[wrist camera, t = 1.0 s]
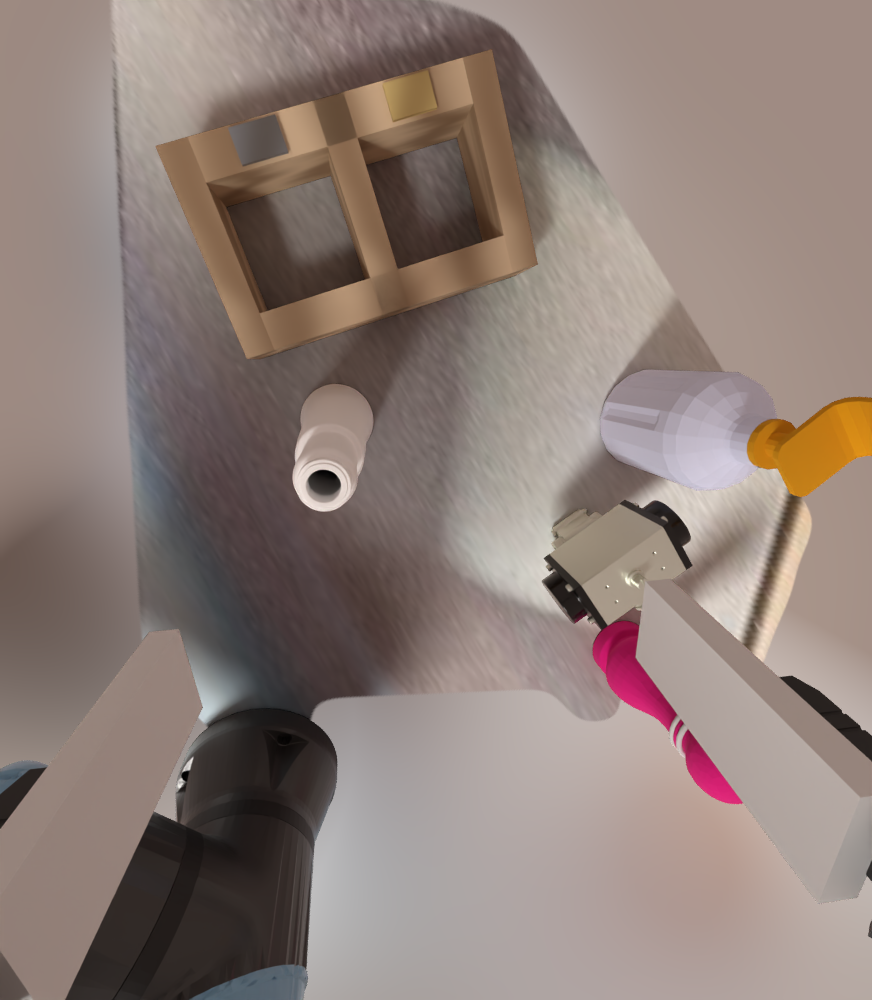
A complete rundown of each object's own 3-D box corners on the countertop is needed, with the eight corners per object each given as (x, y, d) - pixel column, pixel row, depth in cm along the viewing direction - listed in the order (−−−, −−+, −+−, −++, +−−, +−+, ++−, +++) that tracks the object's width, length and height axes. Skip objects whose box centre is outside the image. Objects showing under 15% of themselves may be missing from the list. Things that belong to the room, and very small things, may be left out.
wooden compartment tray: (259, 359, 37) (246, 358, 32) (183, 176, 33) (153, 144, 28) (515, 275, 39) (539, 263, 34) (472, 91, 35) (493, 46, 30)
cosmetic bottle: (299, 452, 40) (245, 553, 19) (301, 380, 38) (244, 404, 18) (370, 457, 41) (392, 556, 20) (375, 387, 40) (403, 417, 19)
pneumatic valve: (512, 547, 46) (566, 608, 35) (609, 477, 46) (695, 515, 34) (540, 586, 48) (599, 656, 37) (633, 519, 48) (722, 569, 36)
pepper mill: (659, 644, 53) (830, 802, 34) (608, 684, 53) (751, 862, 34) (627, 603, 50) (793, 749, 32) (575, 645, 51) (708, 814, 32)
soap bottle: (580, 412, 43) (845, 471, 20) (658, 348, 43) (1020, 334, 20) (626, 483, 46) (903, 606, 23) (700, 424, 46) (1057, 489, 23)
